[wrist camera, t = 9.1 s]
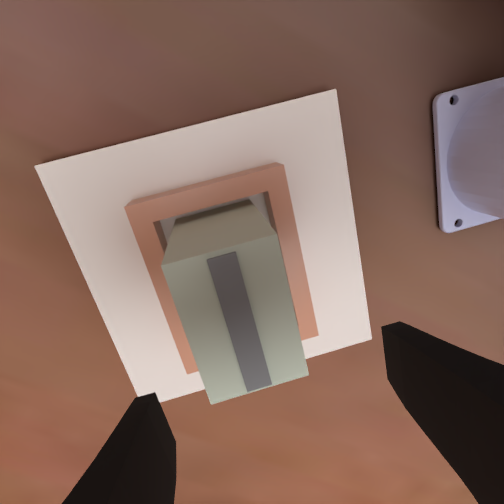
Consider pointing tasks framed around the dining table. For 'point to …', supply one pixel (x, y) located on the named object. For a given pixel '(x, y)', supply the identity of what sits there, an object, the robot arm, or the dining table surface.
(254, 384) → the striped green box
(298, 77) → the dining table surface
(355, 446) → the dining table surface
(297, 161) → the duct plate
